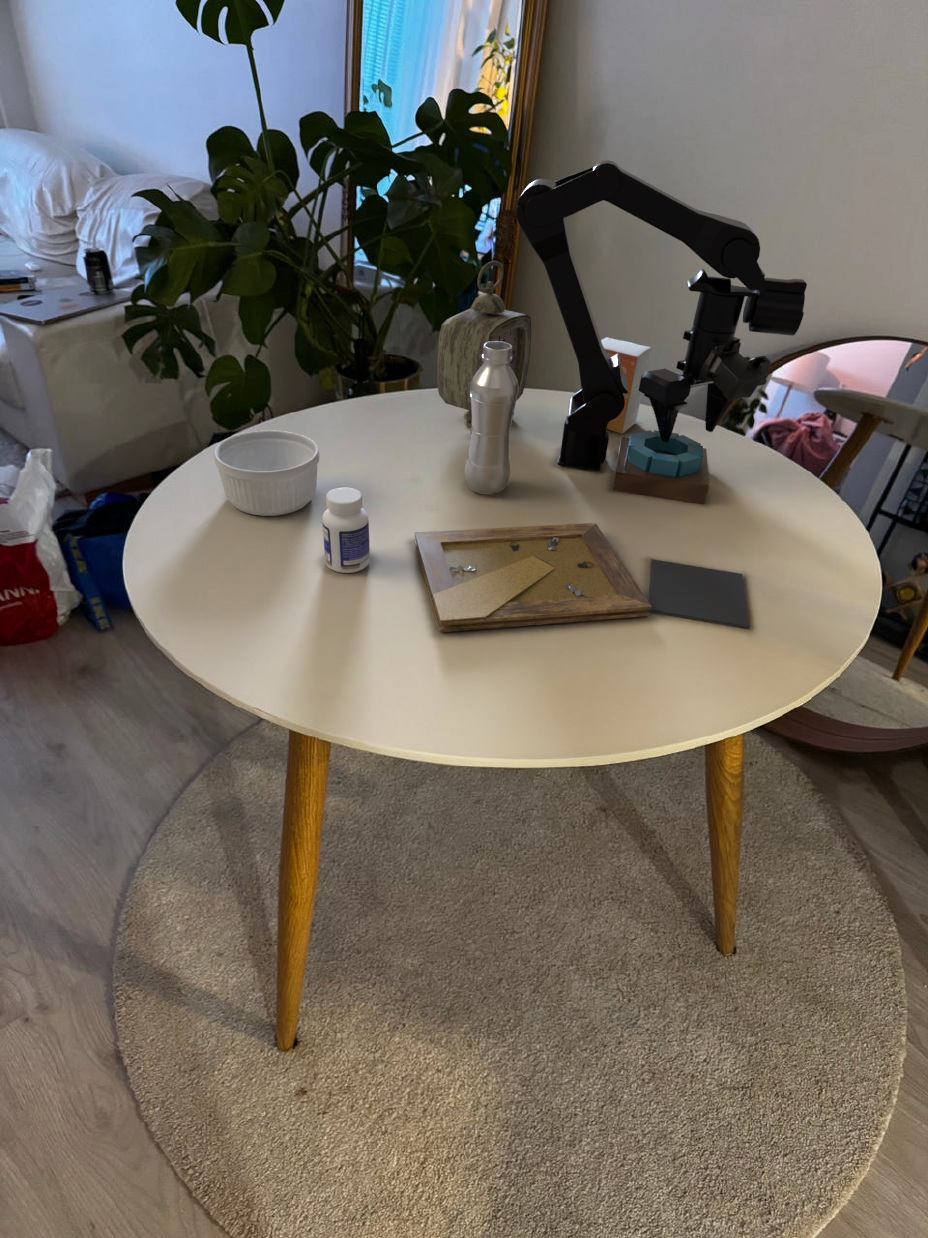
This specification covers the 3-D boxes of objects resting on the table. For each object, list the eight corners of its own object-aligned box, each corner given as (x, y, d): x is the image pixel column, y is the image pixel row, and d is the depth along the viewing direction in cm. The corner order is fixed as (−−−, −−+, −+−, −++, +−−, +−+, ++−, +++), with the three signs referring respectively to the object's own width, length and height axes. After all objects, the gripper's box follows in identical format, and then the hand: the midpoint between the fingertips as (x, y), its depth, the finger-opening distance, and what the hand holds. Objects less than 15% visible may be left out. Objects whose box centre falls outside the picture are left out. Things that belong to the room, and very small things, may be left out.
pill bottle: (377, 556, 91) (375, 489, 86) (358, 578, 87) (355, 510, 82) (337, 546, 92) (333, 480, 87) (317, 568, 88) (312, 500, 83)
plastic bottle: (456, 493, 105) (464, 348, 93) (473, 474, 110) (483, 334, 98) (499, 504, 104) (513, 357, 92) (515, 484, 109) (530, 342, 97)
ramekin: (298, 468, 109) (294, 422, 105) (338, 507, 100) (336, 459, 96) (207, 487, 103) (199, 439, 99) (242, 531, 94) (234, 480, 90)
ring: (624, 469, 108) (627, 454, 106) (628, 440, 116) (631, 426, 115) (700, 480, 106) (704, 465, 105) (698, 450, 115) (702, 436, 113)
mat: (648, 611, 85) (648, 608, 85) (650, 561, 94) (651, 558, 93) (748, 629, 83) (749, 626, 83) (741, 576, 92) (742, 573, 92)
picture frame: (439, 634, 80) (649, 617, 84) (440, 620, 79) (652, 604, 83) (414, 543, 94) (594, 532, 99) (414, 530, 93) (596, 520, 98)
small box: (578, 422, 129) (590, 344, 121) (593, 411, 133) (606, 335, 125) (623, 434, 125) (638, 355, 118) (636, 423, 130) (652, 346, 122)
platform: (612, 490, 109) (615, 471, 107) (617, 454, 119) (621, 436, 117) (704, 504, 107) (709, 485, 105) (701, 466, 117) (706, 448, 115)
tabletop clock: (478, 444, 119) (490, 274, 104) (431, 429, 123) (436, 263, 108) (523, 417, 129) (539, 258, 114) (478, 404, 133) (489, 249, 118)
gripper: (710, 353, 92) (681, 470, 102) (807, 336, 101) (772, 445, 110) (647, 328, 100) (625, 439, 109) (743, 314, 108) (715, 418, 118)
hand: (687, 436), depth 111 cm, fingers open, 9 cm apart
